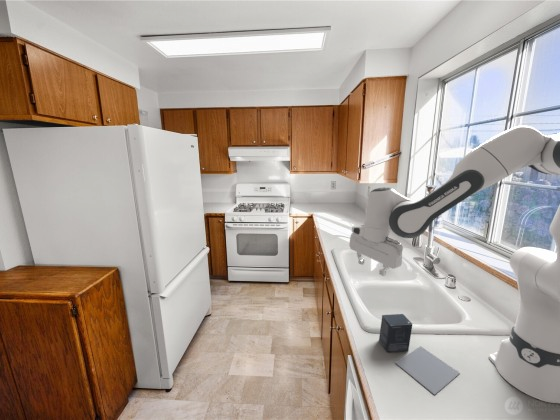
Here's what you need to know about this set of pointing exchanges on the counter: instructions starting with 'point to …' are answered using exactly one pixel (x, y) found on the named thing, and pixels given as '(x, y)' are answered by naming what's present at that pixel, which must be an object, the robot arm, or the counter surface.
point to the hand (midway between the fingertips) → (371, 269)
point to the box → (395, 332)
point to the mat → (427, 369)
